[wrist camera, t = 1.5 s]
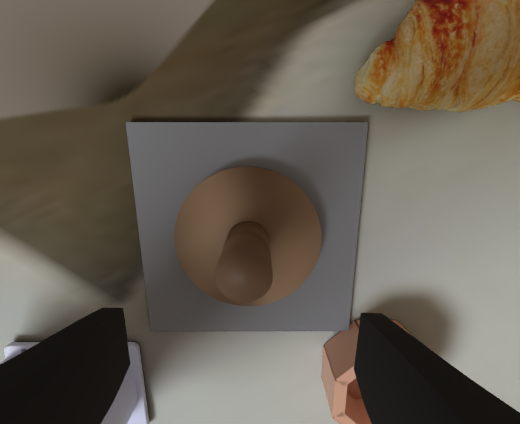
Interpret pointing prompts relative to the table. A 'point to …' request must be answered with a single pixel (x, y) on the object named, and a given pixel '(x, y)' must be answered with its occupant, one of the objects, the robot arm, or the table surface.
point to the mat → (259, 155)
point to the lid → (247, 236)
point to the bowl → (344, 377)
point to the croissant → (447, 58)
